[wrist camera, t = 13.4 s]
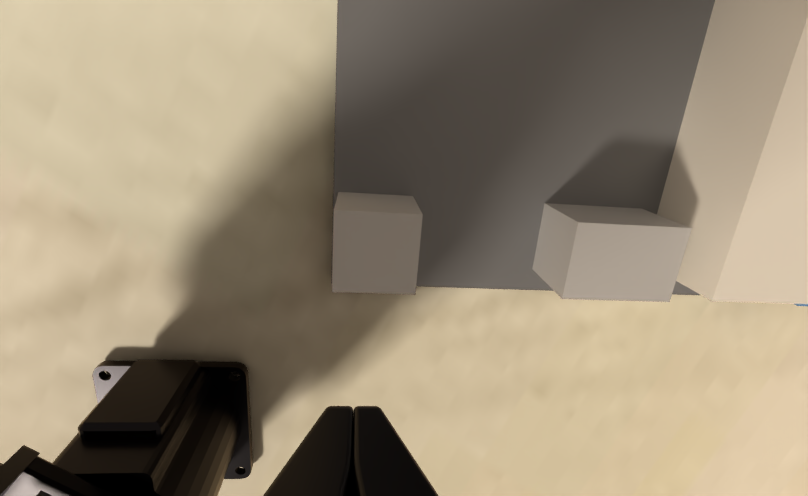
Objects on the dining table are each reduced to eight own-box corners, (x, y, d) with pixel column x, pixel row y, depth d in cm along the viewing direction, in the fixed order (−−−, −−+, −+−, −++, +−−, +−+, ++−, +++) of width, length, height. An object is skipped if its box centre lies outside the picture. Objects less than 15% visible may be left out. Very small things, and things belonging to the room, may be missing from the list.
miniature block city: (778, 292, 21) (856, 329, 18) (332, 278, 19) (325, 316, 15) (967, -193, 15) (1140, -277, 12) (345, -307, 13) (339, -454, 9)
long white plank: (724, 265, 20) (809, 304, 16) (643, 262, 19) (711, 301, 16) (870, -168, 15) (1045, -261, 11) (765, -186, 14) (910, -289, 10)
